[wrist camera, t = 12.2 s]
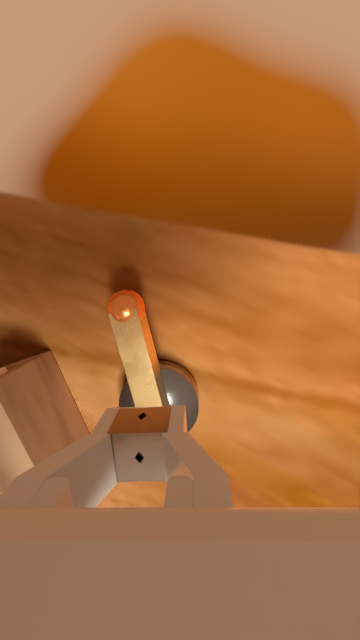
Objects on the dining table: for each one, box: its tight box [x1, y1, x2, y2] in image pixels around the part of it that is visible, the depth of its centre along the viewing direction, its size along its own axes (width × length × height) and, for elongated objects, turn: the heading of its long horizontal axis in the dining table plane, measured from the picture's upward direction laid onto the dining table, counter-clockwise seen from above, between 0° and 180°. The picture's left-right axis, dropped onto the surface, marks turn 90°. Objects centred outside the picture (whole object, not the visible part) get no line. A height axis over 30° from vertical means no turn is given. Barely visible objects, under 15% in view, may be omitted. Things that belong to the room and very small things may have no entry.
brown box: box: [0, 350, 90, 496], centre depth 24 cm, size 8×14×8 cm, turn 19°
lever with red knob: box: [107, 290, 198, 432], centre depth 23 cm, size 17×8×6 cm, turn 13°
